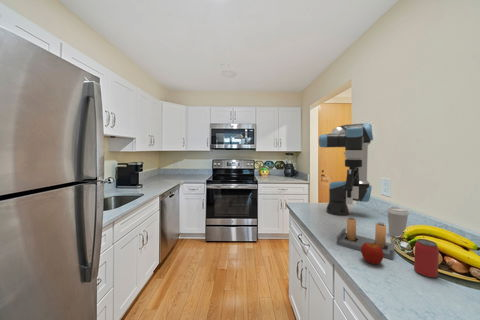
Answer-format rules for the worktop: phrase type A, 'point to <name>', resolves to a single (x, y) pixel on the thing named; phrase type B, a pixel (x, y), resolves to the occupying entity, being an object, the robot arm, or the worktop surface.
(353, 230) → the peg
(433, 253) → the beer can
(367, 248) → the apple
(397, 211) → the coffee cup
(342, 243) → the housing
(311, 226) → the worktop surface
